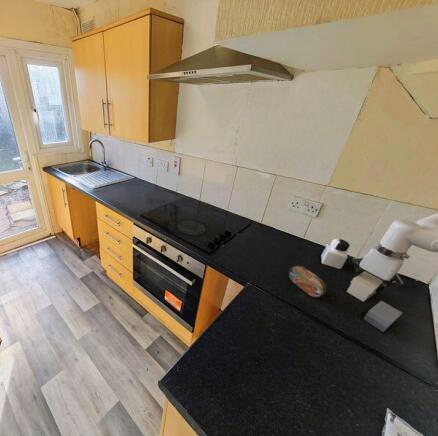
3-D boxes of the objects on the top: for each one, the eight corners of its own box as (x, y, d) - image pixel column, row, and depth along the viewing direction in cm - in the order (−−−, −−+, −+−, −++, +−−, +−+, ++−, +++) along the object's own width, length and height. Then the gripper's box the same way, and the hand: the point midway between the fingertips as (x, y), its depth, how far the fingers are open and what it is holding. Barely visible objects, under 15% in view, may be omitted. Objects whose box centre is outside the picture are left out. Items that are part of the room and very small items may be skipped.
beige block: (374, 293, 97) (380, 285, 94) (363, 301, 93) (369, 293, 90) (357, 283, 102) (363, 276, 99) (346, 291, 97) (351, 283, 95)
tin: (285, 276, 104) (292, 262, 100) (290, 275, 105) (297, 261, 101) (317, 301, 92) (325, 286, 88) (322, 299, 93) (331, 284, 89)
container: (338, 261, 115) (351, 240, 109) (340, 269, 110) (353, 248, 103) (320, 255, 119) (331, 235, 113) (321, 263, 113) (332, 242, 107)
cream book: (381, 286, 94) (385, 281, 93) (370, 294, 90) (373, 289, 89) (361, 275, 100) (364, 271, 98) (350, 282, 95) (353, 278, 94)
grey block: (395, 321, 85) (402, 312, 83) (383, 332, 81) (390, 323, 78) (374, 308, 90) (381, 300, 87) (362, 318, 86) (369, 310, 83)
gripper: (425, 261, 81) (396, 296, 90) (367, 236, 94) (347, 268, 103) (417, 267, 78) (388, 302, 87) (358, 241, 91) (338, 273, 100)
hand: (366, 284), depth 95 cm, fingers open, 7 cm apart
